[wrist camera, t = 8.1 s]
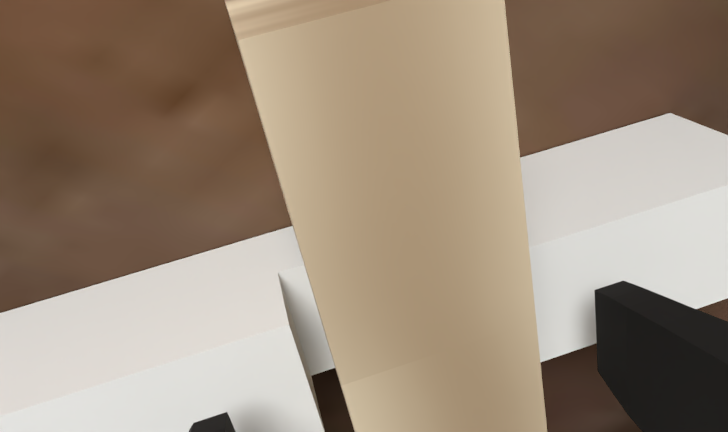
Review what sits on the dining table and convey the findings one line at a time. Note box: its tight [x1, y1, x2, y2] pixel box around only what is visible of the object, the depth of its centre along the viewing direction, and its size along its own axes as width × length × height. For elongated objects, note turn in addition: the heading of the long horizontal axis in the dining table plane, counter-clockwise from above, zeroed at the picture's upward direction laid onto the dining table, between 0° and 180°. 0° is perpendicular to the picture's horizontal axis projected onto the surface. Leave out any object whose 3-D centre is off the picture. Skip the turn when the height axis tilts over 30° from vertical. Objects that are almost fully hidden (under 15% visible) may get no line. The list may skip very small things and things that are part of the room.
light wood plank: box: [224, 0, 547, 432], centre depth 13 cm, size 3×14×7 cm, turn 12°
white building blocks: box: [0, 113, 728, 432], centre depth 14 cm, size 18×3×4 cm, turn 102°
